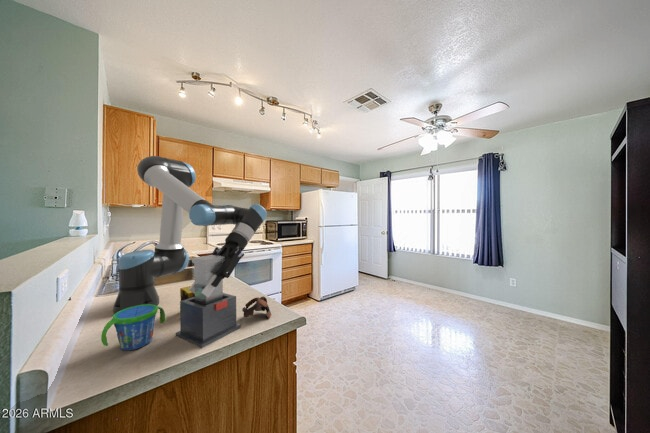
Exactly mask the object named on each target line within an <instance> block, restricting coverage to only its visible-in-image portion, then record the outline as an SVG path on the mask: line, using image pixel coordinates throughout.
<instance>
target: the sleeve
mask: <svg viewBox="0 0 650 433" xmlns="http://www.w3.org/2000/svg"><path fill="white" fill-rule="evenodd" d="M179 311H180V314H179V315H180V316H179V319H180V320H179V321H180V323H179V324H180V327H179V328H180V330H178V331H176V332H175V337H177V338H180V339H182V340H183V341H185V342H188V343H190V344H192V345H195V346H197V347H199V348H201V349H203V348H205V347H206V346H209V345H211V344H213V343H215V342H217V341H218V340H220V339H222V338H224V337H225V336H226V337H227V336H228V335H230V334H232V333H235V331H237V330H239V329H241V327H242V325H241V324H240V323H237V296H236V295H233V294H228V293H226V292H223V299H222V300H219V301H217V302H214V303H211V304H208V305H206V306H203V305H200V304H197V303H195V299H194V297H192V298H189V299H186V300H183V301H181V300H180V301H179Z"/></svg>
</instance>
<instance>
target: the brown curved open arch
mask: <svg viewBox="0 0 650 433" xmlns="http://www.w3.org/2000/svg"><path fill="white" fill-rule="evenodd" d="M241 310H242V312H243V317H244V318H248V317H250V316H251V317H254V314H255V311H256V312H261V311H263V312H265V311H266V317H267V319H268V320H270V319H271V316H272V313H271V310H270V307H269V305H268V300H267V297H266V296H264V295H263V296H260V297H259V296H258V297H257V296H256V297H253V298H252V299H250V300H249V301H248V302H246V303H245V305H244V306H243V308H241Z"/></svg>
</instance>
